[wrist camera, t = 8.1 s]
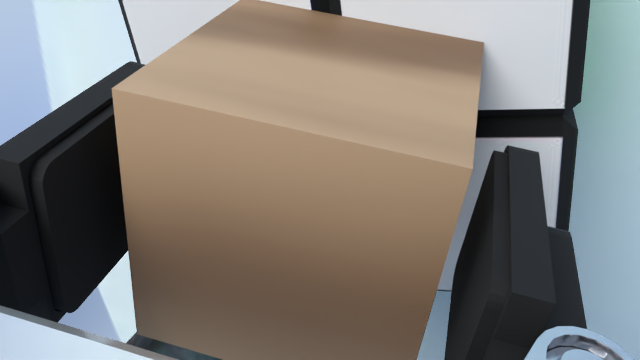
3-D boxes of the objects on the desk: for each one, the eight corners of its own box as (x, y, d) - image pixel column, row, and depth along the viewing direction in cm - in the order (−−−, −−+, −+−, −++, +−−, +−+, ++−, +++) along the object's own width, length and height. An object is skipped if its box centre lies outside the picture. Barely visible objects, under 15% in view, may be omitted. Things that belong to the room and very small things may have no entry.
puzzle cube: (250, -127, 20) (80, -90, 12) (558, -174, 17) (610, -166, 9) (295, 131, 25) (196, 281, 17) (541, 128, 22) (564, 308, 14)
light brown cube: (244, -3, 12) (111, 88, 8) (483, 42, 11) (472, 168, 7) (237, 192, 15) (136, 334, 11) (430, 239, 14) (400, 412, 10)
